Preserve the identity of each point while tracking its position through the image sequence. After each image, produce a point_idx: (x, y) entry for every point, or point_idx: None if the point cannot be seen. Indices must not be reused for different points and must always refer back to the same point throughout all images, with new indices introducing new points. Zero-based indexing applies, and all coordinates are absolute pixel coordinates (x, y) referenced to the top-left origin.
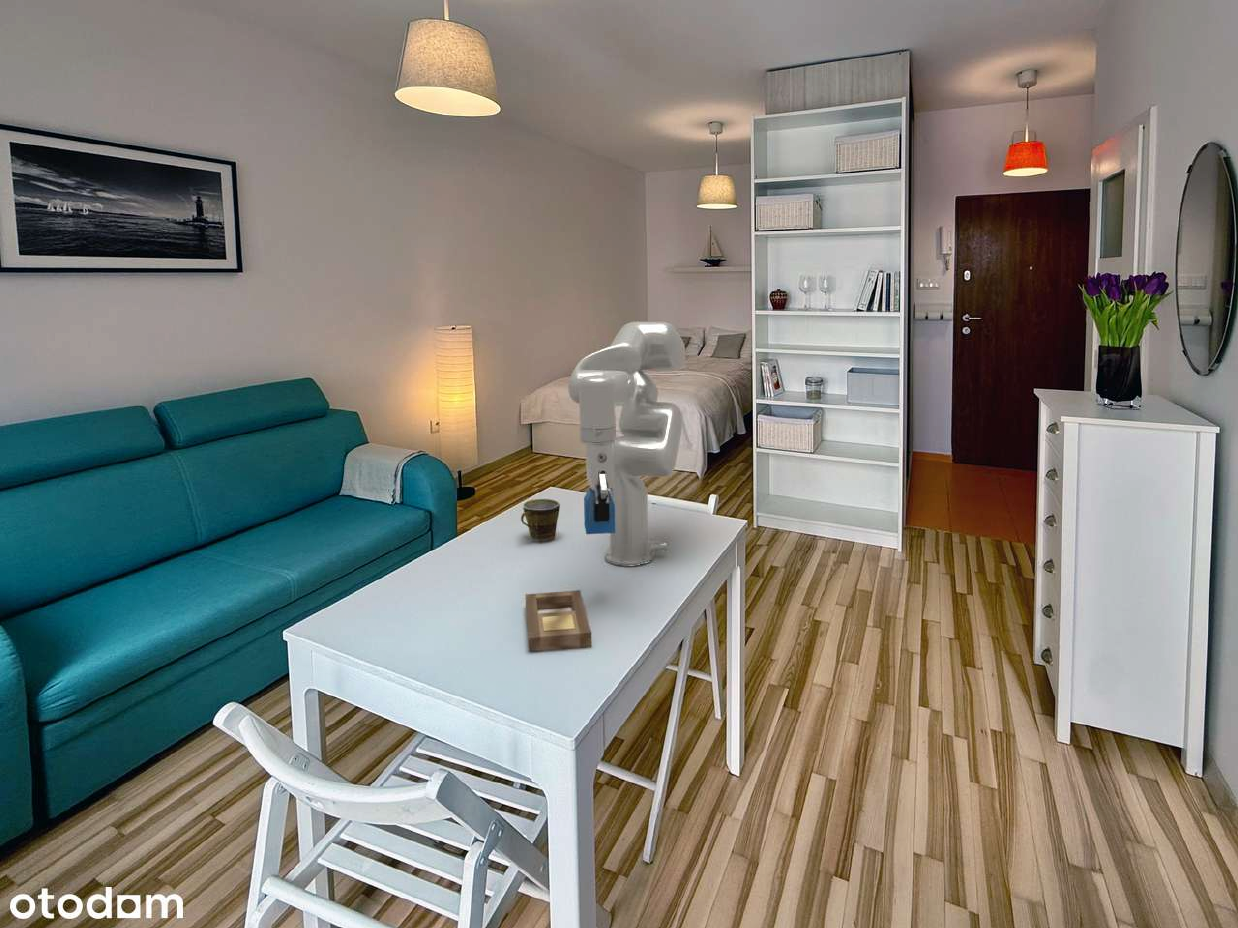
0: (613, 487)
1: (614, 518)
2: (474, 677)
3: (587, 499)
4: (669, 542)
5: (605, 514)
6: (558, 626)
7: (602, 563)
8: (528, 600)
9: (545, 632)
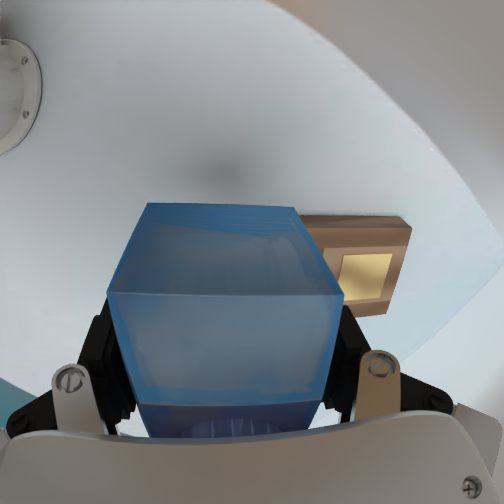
0: (459, 423)
1: (313, 245)
2: (397, 344)
3: None
4: None
5: (352, 316)
6: (375, 277)
7: (19, 158)
8: None
9: (381, 294)
